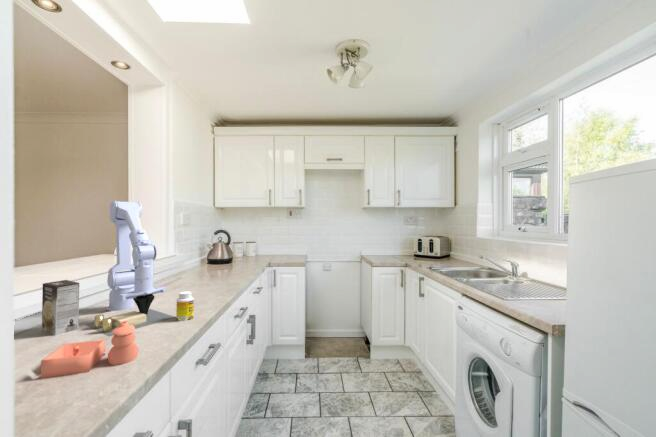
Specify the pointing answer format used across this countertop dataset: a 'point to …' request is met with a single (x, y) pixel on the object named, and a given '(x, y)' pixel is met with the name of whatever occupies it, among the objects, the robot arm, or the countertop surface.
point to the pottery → (91, 353)
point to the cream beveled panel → (129, 318)
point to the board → (150, 319)
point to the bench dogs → (103, 323)
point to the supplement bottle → (185, 306)
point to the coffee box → (60, 307)
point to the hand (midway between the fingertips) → (143, 316)
